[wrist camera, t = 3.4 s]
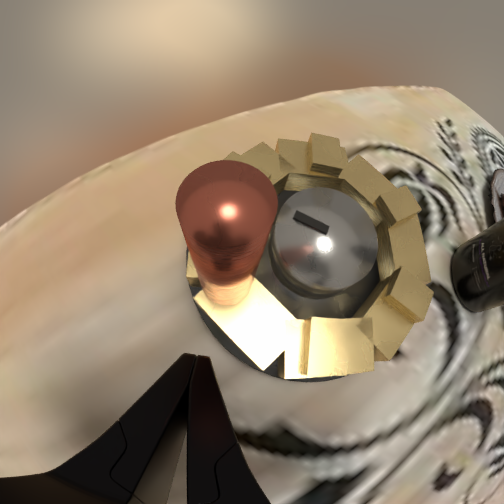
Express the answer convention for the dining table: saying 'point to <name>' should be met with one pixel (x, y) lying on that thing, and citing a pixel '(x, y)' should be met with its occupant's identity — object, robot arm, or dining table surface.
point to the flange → (314, 261)
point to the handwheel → (254, 241)
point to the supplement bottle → (481, 269)
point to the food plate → (497, 194)
